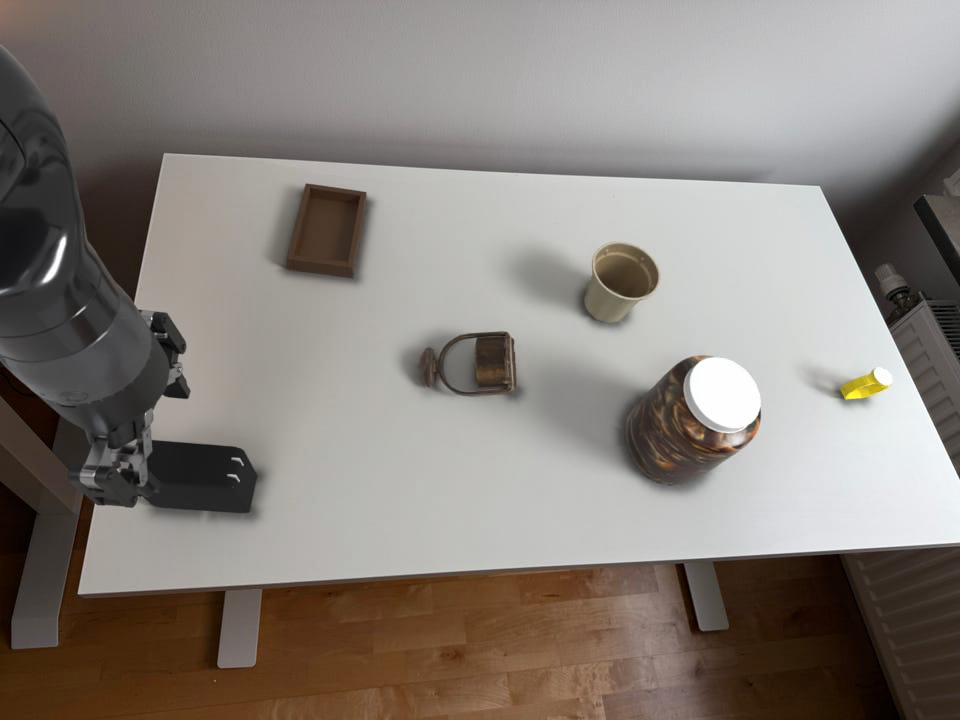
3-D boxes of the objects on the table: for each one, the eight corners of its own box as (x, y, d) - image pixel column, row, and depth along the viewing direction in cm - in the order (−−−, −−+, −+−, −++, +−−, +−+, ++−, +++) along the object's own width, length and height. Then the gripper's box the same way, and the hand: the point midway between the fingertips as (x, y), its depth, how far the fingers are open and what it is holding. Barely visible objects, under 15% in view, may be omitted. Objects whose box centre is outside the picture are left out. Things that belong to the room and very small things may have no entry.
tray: (288, 270, 81) (286, 258, 79) (307, 195, 88) (305, 182, 85) (353, 278, 82) (352, 267, 80) (366, 203, 89) (366, 191, 86)
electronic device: (165, 470, 66) (134, 437, 58) (259, 477, 67) (242, 446, 59) (154, 508, 64) (120, 479, 55) (251, 514, 65) (232, 488, 57)
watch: (838, 405, 85) (868, 387, 79) (829, 387, 86) (859, 368, 81) (873, 402, 86) (905, 383, 81) (865, 384, 87) (896, 365, 82)
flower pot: (647, 325, 86) (673, 291, 78) (589, 340, 83) (611, 305, 76) (618, 273, 90) (641, 235, 82) (563, 286, 87) (580, 248, 80)
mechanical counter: (514, 412, 70) (542, 337, 73) (413, 368, 69) (446, 295, 72) (501, 421, 77) (528, 352, 80) (409, 382, 76) (439, 314, 79)
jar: (727, 458, 78) (798, 412, 65) (661, 502, 73) (724, 462, 60) (669, 385, 82) (726, 328, 69) (604, 423, 77) (651, 370, 64)
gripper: (64, 250, 41) (144, 362, 55) (-31, 449, 34) (88, 519, 48) (179, 264, 42) (229, 371, 56) (109, 461, 35) (186, 526, 49)
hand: (164, 439), depth 52 cm, fingers open, 8 cm apart
